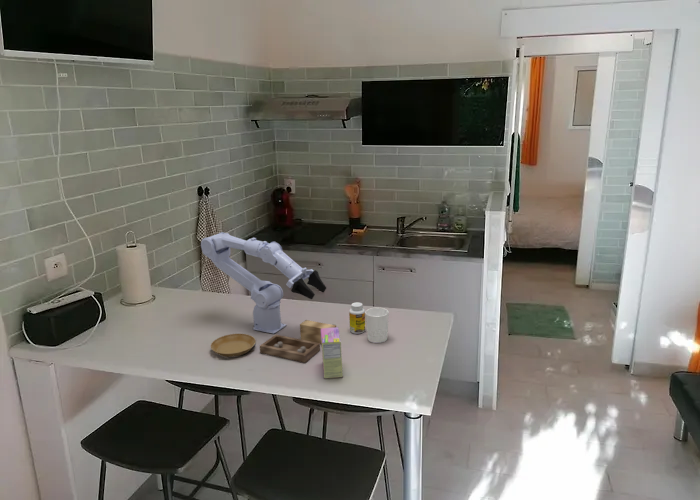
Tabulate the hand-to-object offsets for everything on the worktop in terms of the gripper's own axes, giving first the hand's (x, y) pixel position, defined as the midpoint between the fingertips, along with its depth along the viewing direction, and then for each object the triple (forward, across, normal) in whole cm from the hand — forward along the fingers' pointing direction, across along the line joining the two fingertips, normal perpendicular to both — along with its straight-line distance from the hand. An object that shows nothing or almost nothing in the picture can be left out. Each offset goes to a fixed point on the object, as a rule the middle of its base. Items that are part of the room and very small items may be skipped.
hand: (319, 293), depth 180 cm
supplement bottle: (+16, +12, +9) cm, 22 cm away
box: (+21, -16, +7) cm, 28 cm away
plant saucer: (-10, -18, +28) cm, 34 cm away
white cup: (+24, +9, +5) cm, 26 cm away
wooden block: (+9, -1, +14) cm, 17 cm away
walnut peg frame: (+5, -12, +17) cm, 21 cm away
